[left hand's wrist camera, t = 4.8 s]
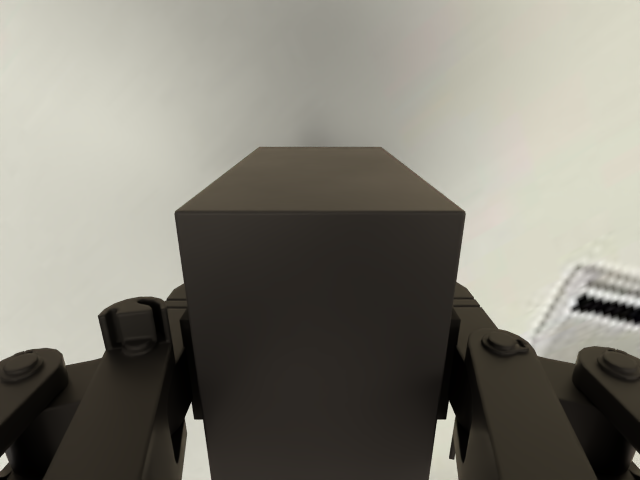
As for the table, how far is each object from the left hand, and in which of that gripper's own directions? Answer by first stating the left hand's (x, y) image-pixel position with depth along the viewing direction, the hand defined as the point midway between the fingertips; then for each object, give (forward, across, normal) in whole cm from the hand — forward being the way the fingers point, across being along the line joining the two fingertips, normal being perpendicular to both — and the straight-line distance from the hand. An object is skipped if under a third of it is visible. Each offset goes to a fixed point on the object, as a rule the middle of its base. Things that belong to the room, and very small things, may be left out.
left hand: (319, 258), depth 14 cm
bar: (+1, 0, -10) cm, 10 cm away
